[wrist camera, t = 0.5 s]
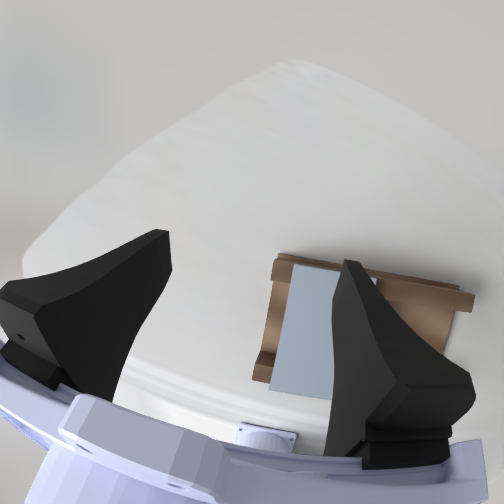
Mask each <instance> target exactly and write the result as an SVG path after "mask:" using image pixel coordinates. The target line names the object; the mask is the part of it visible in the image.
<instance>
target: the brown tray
mask: <svg viewBox="0 0 504 504" xmlns="http://www.w3.org/2000/svg"><path fill="white" fill-rule="evenodd" d="M294 264H299V265H304V266H310V267H316V268H321V269H327V270H333V271H338V272H341V269H342V266H343V265H341V264H335V263H329V262H324V261H318V260H312V259H307V258H301V257H295V256H290V255H284V254H278V258H277V259H275V260H274V263H273V269H272V275H271V280H273V286H272V292H271V297H270V303H269V308H268V314H267V319H266V324H265V330H264V335H263V340H262V345H261V350H260V353H259V355H258V358H257V360H256V362H255V366H254V371H253V376H252V380H254V381H259V382H264V383H269V384H270V382H271V377H272V373H273V368H274V363H275V359H276V354H277V349H278V344H279V340H280V335H281V330H282V325H283V320H284V315H285V310H286V305H287V299H288V294H289V289H290V283H291V278H292V272H293V267H294ZM365 271H366V272H367V274H368V275H369V277H373V278H376V279H377V280H376V287H377V288H378V289H379V291H380V292H381V293H382V295H383V296H384V297H385V299H386V300H387V301H388V303H389V304H390V305H391V306H392V308H393V309H394V310H395V311H396V312H397V314H398V315H399V316H400V317H401V318H402V319H403V320H404V321H405V322H406V323H407V324H408V325H409V326H410V328H411V329H412V330H413V331H415V332H416V333H417V334H418V335H419V336H420V337H421V338H422V339H423V340H424V341H425V342H427V343H428V344H429V345H430V346H431V347H433V348H434V349H435V350H436V351H438V352H439V353H440V354H442V353H443V350H444V347H445V343H446V340H447V336H448V333H449V329H450V325H451V321H452V317H453V313H454V310H456V311H463V312H470V313H471V312H472V308H473V303H474V299H475V295H474V294H470V293H467V292H464V291H460V290H459V286H457V285H453V284H447V283H442V282H436V281H430V280H425V279H419V278H414V277H408V276H403V275H397V274H391V273H386V272H380V271H375V270H369V269H365Z"/></svg>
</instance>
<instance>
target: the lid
mask: <svg viewBox="0 0 504 504" xmlns="http://www.w3.org/2000/svg"><path fill="white" fill-rule="evenodd" d="M340 273H341V272H338V271H333V270H327V269H321V268H316V267H310V266H304V265H299V264H294V267H293V272H292V278H291V283H290V289H289V294H288V299H287V305H286V310H285V315H284V320H283V325H282V330H281V335H280V340H279V344H278V349H277V354H276V359H275V363H274V368H273V373H272V377H271V382H270V386H269V390H272V391H277V392H282V393H288V394H293V395H299V396H306V397H312V398H319V399H326V400H332V395H333V383H334V353H333V338H332V322H331V317H332V299H333V295H334V292H335V289H336V286H337V283H338V279H339V276H340ZM370 278H371V279H372V281H373V282H374V284H375V285H376V280H377V279H376V278H373V277H370Z"/></svg>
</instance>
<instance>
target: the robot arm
mask: <svg viewBox="0 0 504 504" xmlns="http://www.w3.org/2000/svg"><path fill="white" fill-rule="evenodd" d="M171 272H172V263H171V252H170V240H169V231H166V230H159V229H155V230H152V231H150V232H148V233H145V234H143V235H141V236H139V237H137V238H136V239H134V240H132V241H130V242H128V243H126V244H124V245H122V246H120V247H118V248H116V249H114V250H112V251H110V252H108V253H106V254H104V255H102V256H100V257H97V258H95V259H93V260H90V261H88V262H85V263H83V264H80V265H78V266H75V267H72V268H68V269H65V270H62V271H59V272H55V273H52V274H48V275H43V276H39V277H34V278H28V279H21V280H13V281H8V282H7V283H6V284H5V285H4V286H3V287H2V288H1V289H0V325H1V327H2V328H3V330H4V332H5V333H6V335H7V337H8V338H9V340H8V341H7V343H6V344H5V343H4V342H3V341H2V340H1V339H0V415H1V416H2V417H3V418H4V419H6V420H7V421H8V422H9V423H11V424H12V425H13V426H14V427H16V428H17V429H18V430H19V431H21V432H22V433H23V434H25V435H26V436H28V437H29V438H30V439H31V440H33V441H34V442H35V443H37V444H38V445H40V446H41V447H43V448H44V449H46V450H47V451H48V453H47V455H46V457H45V459H44V461H43V463H42V465H41V467H40V469H39V471H38V473H37V475H36V478H35V480H34V482H33V484H32V486H31V488H30V490H29V493H28V495H27V497H26V499H25V502H24V504H480V503H482V502H484V501H486V500H487V499H488V489H487V479H486V470H485V462H484V455H483V449H482V443H481V440H480V439H476V440H470V441H464V442H458V443H455V444H452V445H450V446H449V442H448V438H450V437H451V436H452V427H451V426H452V425H453V424H454V423H455V422H457V421H458V420H459V419H460V418H461V417H462V416H463V415H464V414H466V413H467V412H468V410H469V409H470V408H471V407H472V405H473V404H474V402H475V400H476V393H475V390H474V386H473V383H472V379H471V376H470V373H469V372H467V371H465V370H464V369H462V368H461V367H459V366H458V365H456V364H454V363H453V362H451V361H450V360H448V359H447V358H446V357H444V356H443V355H442V354H440V353H439V352H438V351H436V350H435V349H434V348H433V347H431V346H430V345H429V344H428V343H427V342H425V341H424V340H423V339H422V338H421V337H420V336H419V335H418V334H417V333H416V332H415V331H413V330H412V329H411V328H410V326H409V325H408V324H407V323H406V322H405V321H404V320H403V319H402V318H401V317H400V316H399V315H398V314H397V312H396V311H395V310H394V309H393V308H392V306H391V305H390V304H389V303H388V301H387V300H386V299H385V297H384V296H383V295H382V293H381V292H380V291H379V289H378V288H377V287H376V285H375V284H374V282H373V281H372V279H371V278H370V277H369V275H368V274H367V272H366V271H365V269H364V268H363V266H362V265H361V264H360V262H357V261H351V260H345V259H344V263H343V266H342V269H341V273H340V276H339V279H338V283H337V286H336V289H335V292H334V295H333V299H332V317H331V322H332V338H333V353H334V383H333V395H332V404H331V413H330V420H329V427H328V433H327V439H326V445H325V450H324V455H323V456H314V455H303V454H293V453H291V452H292V449H293V446H294V443H295V440H296V434H295V433H292V432H286V431H280V430H275V429H269V428H264V427H259V426H254V425H250V424H245V423H239V424H238V427H237V432H236V437H235V442H234V444H232V443H227V442H222V441H218V440H214V439H212V438H210V437H208V436H206V435H203V434H200V433H197V432H195V431H192V430H189V429H186V428H183V427H179V426H176V425H173V424H169V423H166V422H163V421H160V420H157V419H154V418H151V417H148V416H145V415H142V414H139V413H137V412H134V411H131V410H129V409H126V408H123V407H121V406H118V405H116V404H113V403H112V401H113V397H114V393H115V390H116V387H117V384H118V381H119V378H120V375H121V372H122V369H123V366H124V364H125V361H126V358H127V356H128V353H129V351H130V349H131V346H132V344H133V342H134V339H135V337H136V335H137V333H138V331H139V329H140V328H141V326H142V324H143V323H144V321H145V319H146V318H147V316H148V314H149V313H150V311H151V310H152V308H153V306H154V305H155V303H156V302H157V300H158V298H159V297H160V295H161V293H162V292H163V290H164V288H165V286H166V284H167V282H168V279H169V277H170V275H171ZM240 428H242V430H241V429H240ZM291 438H293V439H291Z"/></svg>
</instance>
